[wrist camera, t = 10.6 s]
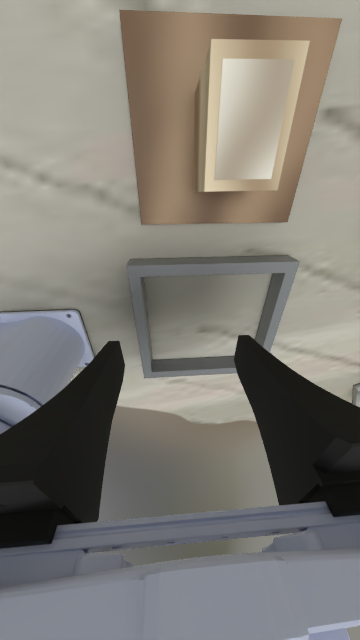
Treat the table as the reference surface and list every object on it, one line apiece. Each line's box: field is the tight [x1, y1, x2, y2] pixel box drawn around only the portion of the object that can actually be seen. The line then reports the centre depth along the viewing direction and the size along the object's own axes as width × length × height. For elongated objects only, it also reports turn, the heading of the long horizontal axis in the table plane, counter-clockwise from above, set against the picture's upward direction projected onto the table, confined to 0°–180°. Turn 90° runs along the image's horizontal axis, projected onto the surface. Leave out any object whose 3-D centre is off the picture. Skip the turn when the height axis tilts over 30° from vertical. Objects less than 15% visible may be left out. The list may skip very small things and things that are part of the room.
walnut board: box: [120, 10, 342, 224], centre depth 13 cm, size 12×10×1 cm
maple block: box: [193, 39, 310, 192], centre depth 11 cm, size 4×5×5 cm
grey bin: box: [127, 255, 300, 378], centre depth 21 cm, size 15×14×2 cm
